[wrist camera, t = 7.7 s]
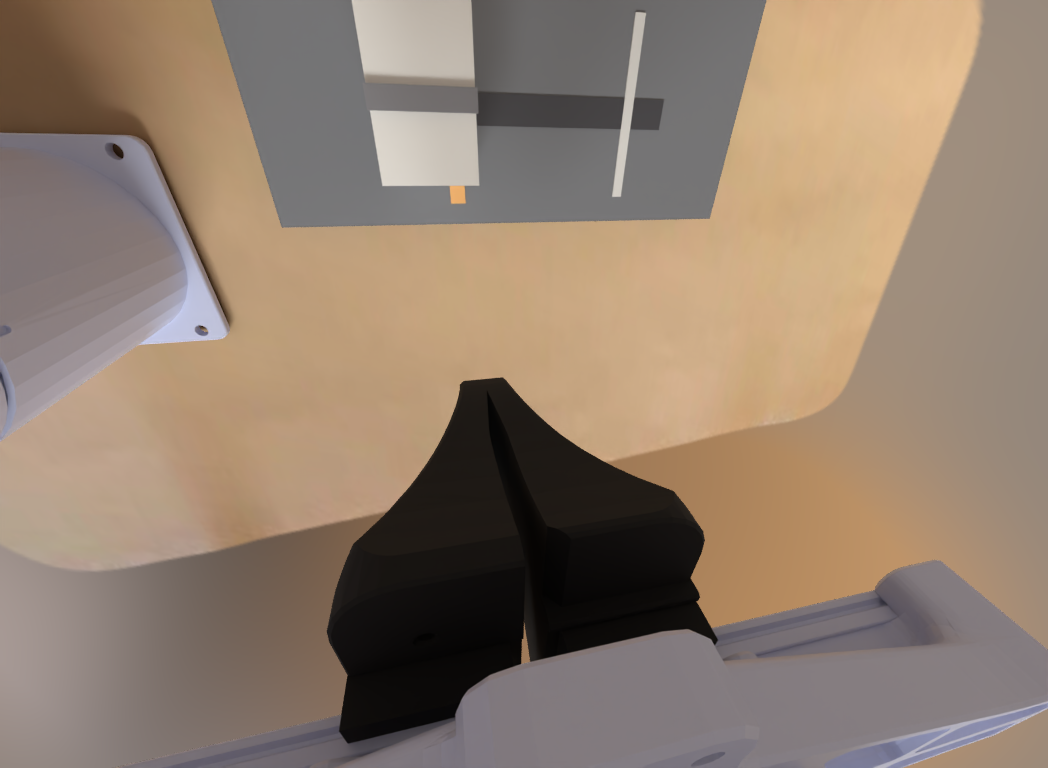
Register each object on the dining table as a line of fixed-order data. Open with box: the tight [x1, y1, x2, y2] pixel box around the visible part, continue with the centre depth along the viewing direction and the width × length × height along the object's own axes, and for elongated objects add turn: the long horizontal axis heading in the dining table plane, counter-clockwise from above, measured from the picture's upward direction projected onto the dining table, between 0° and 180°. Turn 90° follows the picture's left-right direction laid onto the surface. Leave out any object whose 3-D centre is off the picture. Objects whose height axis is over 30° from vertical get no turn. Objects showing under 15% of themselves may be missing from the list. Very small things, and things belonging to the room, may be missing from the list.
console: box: [211, 0, 766, 227], centre depth 15 cm, size 19×8×2 cm, turn 89°
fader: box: [352, 0, 479, 186], centre depth 12 cm, size 3×4×4 cm
